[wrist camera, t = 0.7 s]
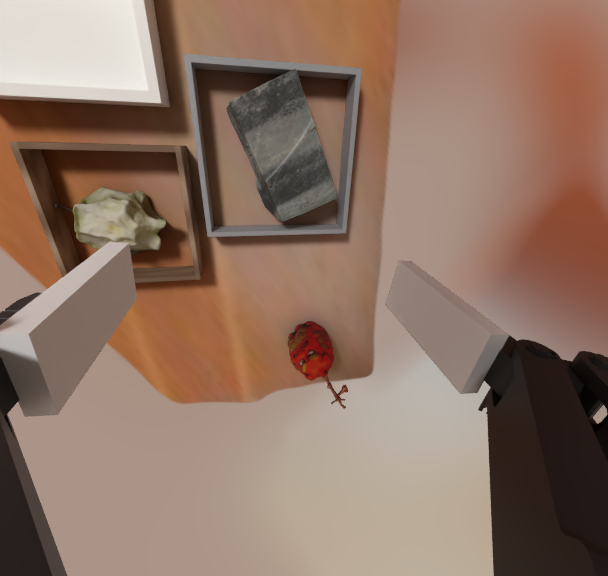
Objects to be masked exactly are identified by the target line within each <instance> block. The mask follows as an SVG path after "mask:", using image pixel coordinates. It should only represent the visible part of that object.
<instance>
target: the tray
mask: <svg viewBox="0 0 608 576" xmlns="http://www.w3.org/2000/svg"><path fill="white" fill-rule="evenodd" d="M0 99H6V100H27V101H47V102H68V103H89V104H109V105H130V106H150V107H170V102H169V96H168V89H167V83H166V77H165V70H164V64H163V58H162V51H161V45H160V39H159V32H158V26H157V20H156V13H155V7H154V1H153V0H0Z"/></svg>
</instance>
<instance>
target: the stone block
mask: <svg viewBox="0 0 608 576" xmlns="http://www.w3.org/2000/svg"><path fill="white" fill-rule="evenodd" d="M227 112H228V115H229V117H230V120H231V122H232V124H233V126H234V128H235V130H236V132H237V134H238V137H239V139H240V141H241V143H242V145H243V148H244V150H245V152H246V154H247V156H248V158H249V160H250V163H251V166H252V168H253V170H254V172H255V175H256V177H257V180H256V183H257V189H258V191H259V193H260V196H261V198H262V201H263V203H264V205H265V207H266V208H268V209H269V210H270V211H271V212H272V213H273V214H274V215H275V216H276V217H277V218H278V219H279V220H281V221H282V222H284V221H286V220H289V219H291V218H293V217H295V216H298V215H301V214H304V213H306V212H308V211H310V210H313V209H315V208H317V207H319V206H321V205H323V204H326V203H328V202H330V201H332V200H334V199H337V194H336V191H335V187H334V184H333V181H332V178H331V175H330V172H329V169H328V166H327V163H326V160H325V157H324V153H323V150H322V147H321V144H320V141H319V138H318V134H317V131H316V128H315V124H314V121H313V119H312V117H311V114H310V110H309V107H308V104H307V101H306V98H305V95H304V92H303V89H302V86H301V82H300V79H299V76H298V73H297V70H296V68H295V69H293V70H291V71H289V72H287V73H285V74H283V75H281V76H279V77H277V78H275V79H273V80H271V81H269V82H267V83H265V84H263V85H261V86H259V87H257V88H255V89H253V90H251V91H249V92H248V93H246V94H244V95H242V96H240V97H238V98H235V99H233V100H231V101H230V104H229V106H228V107H227Z"/></svg>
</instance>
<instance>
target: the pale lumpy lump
mask: <svg viewBox="0 0 608 576" xmlns="http://www.w3.org/2000/svg"><path fill="white" fill-rule="evenodd" d="M55 207H58V208H63V209H67V210H70V211H73V214H74V218H75V221H74V228H75V232H76V238H77V239H78V240H79V241H80V242H83V243H85V244H87V245H90V246H92V247H93V248H96V249H98V250H99V249H101V248H102V247H103V246H105V245H106V244H107V243H108V242H121V243H129V246H130V253H131V256H132V255H133V254H136V253H138V252H141V251H145V250H150V249H154V250H159V249H160V247H161V239H160V230H161V229H162V228H164V227H165V226H166V220H165V219H161V218H160V217H159V216H158V215H157V213H156V212H155V211H154V210H153V208H152V206H151V203H150V201H149V199H148V197H147V196H146V195H145V194H144V193H143V192H141V191H135V192H134V193H125V192H120V191H115V190H112V189H107V188H105V187H101V188H99V189H98V190H96V191H95V192H94V193H92V194H90V195H89V196H88V197H86V198H85V199H82V200H81V203H80V204H75V205H74V207H73V210H72V209H69V208H67V207H65V206H62V205H60V204H57V203H56V205H55Z"/></svg>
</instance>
